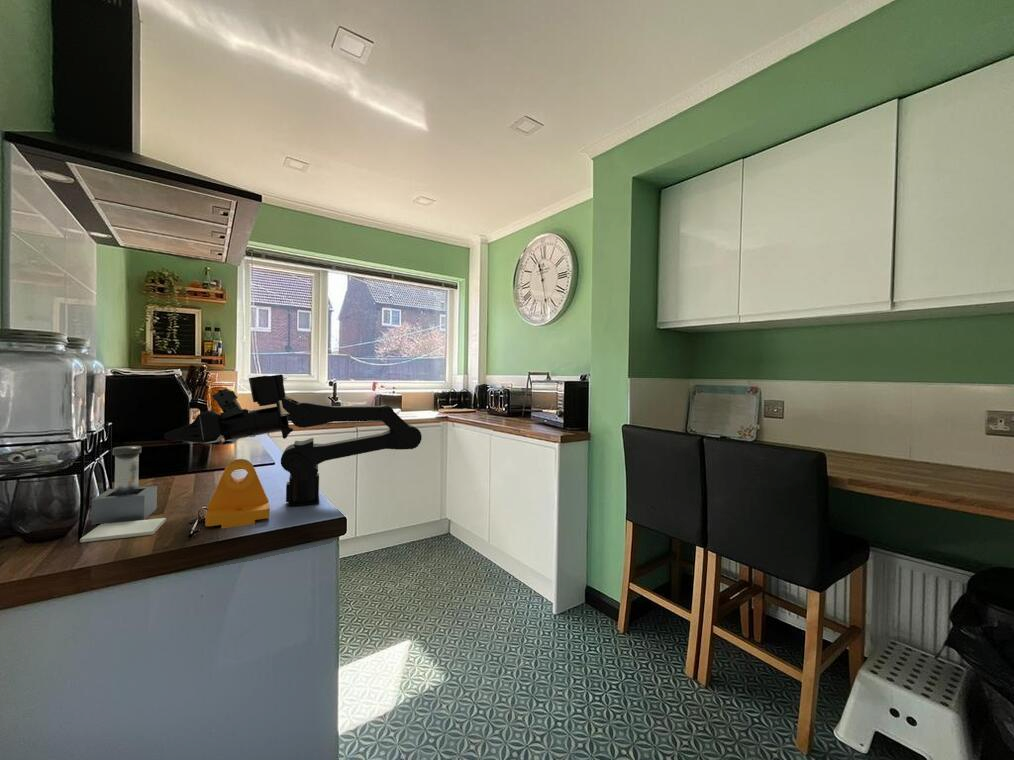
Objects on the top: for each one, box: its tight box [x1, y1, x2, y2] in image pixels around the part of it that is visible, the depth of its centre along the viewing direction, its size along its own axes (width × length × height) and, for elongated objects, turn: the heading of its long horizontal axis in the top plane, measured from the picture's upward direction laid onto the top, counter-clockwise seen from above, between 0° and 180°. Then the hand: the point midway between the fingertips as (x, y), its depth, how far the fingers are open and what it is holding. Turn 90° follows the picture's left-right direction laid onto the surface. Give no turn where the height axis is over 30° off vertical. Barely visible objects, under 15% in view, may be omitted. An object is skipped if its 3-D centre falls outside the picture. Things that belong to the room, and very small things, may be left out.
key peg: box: [112, 445, 143, 496], centre depth 86 cm, size 4×4×12 cm
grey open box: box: [90, 485, 158, 526], centre depth 86 cm, size 8×8×5 cm
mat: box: [79, 517, 167, 543], centre depth 79 cm, size 10×8×1 cm
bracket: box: [204, 458, 271, 529], centre depth 86 cm, size 11×7×12 cm
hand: (172, 437), depth 88 cm, fingers open, 9 cm apart
